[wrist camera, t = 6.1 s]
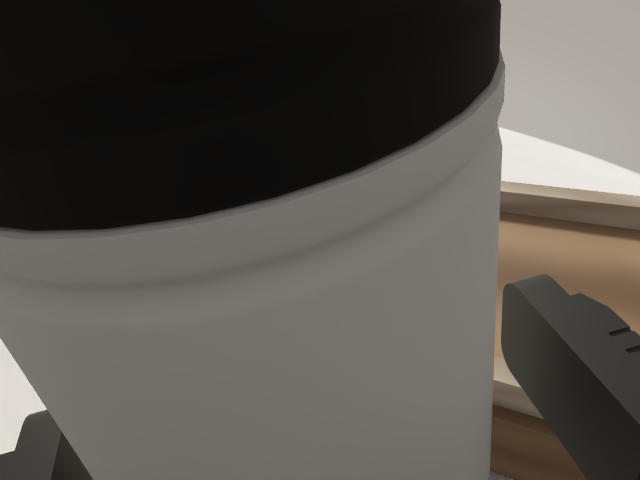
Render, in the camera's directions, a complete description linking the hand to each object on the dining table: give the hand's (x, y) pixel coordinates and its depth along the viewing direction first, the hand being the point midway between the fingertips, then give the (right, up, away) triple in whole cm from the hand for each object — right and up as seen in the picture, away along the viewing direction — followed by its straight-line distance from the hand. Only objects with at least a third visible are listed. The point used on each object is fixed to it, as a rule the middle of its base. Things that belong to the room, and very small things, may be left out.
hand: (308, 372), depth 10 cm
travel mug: (+2, -10, +5) cm, 11 cm away
